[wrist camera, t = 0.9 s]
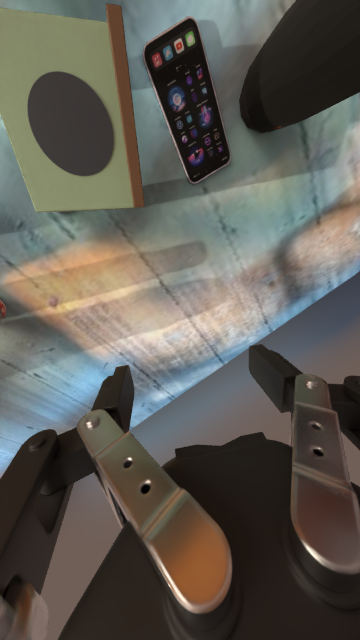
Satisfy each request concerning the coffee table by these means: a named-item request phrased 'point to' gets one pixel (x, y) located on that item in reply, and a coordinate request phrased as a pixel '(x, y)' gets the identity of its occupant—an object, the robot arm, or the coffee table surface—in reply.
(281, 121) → the portable speaker
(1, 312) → the pill bottle
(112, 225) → the coffee table surface
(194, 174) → the smartphone
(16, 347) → the coffee table surface
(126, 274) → the coffee table surface
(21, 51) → the green footstool with circle
